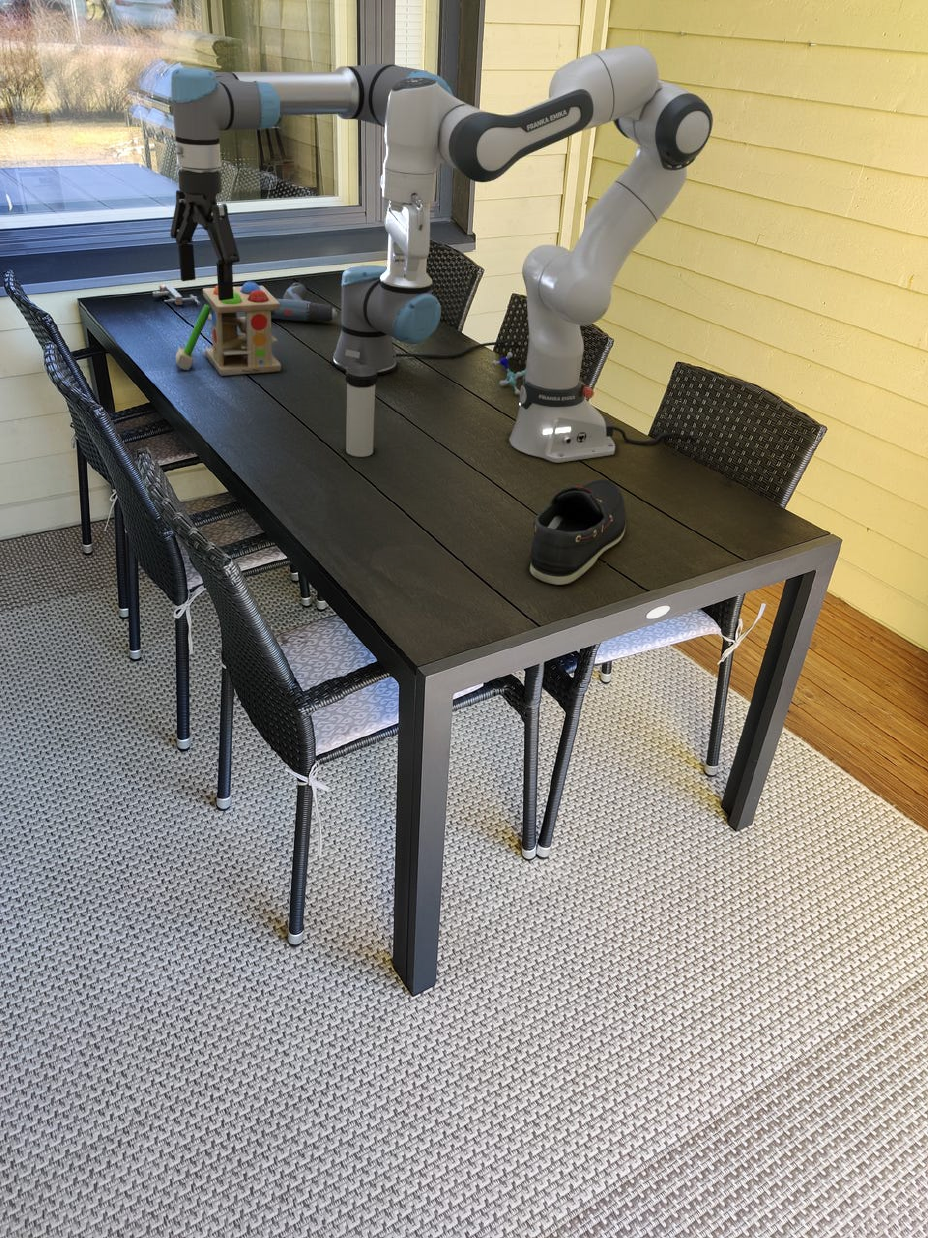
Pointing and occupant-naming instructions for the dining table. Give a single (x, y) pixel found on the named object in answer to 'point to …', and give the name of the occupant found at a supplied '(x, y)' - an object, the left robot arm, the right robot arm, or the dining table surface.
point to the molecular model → (509, 373)
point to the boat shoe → (576, 531)
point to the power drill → (301, 307)
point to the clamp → (173, 295)
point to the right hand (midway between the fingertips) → (404, 271)
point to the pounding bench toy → (229, 347)
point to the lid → (361, 376)
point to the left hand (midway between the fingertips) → (206, 289)
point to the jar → (360, 420)
